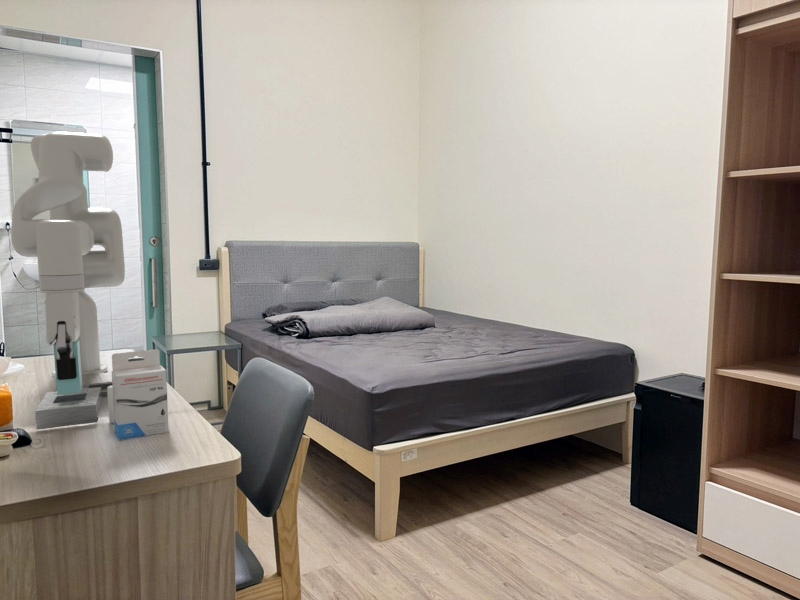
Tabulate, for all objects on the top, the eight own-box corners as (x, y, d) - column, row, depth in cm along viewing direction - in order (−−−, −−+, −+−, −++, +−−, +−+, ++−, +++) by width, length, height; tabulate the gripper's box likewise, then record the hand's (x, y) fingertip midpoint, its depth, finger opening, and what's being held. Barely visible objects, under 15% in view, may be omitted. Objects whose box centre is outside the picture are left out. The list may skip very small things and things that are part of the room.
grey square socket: (83, 393, 132) (82, 384, 132) (126, 388, 136) (126, 380, 136) (78, 403, 124) (78, 394, 124) (125, 398, 128) (125, 389, 128)
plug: (59, 390, 117) (56, 339, 116) (82, 388, 118) (79, 338, 117) (57, 395, 113) (53, 343, 112) (80, 392, 115) (76, 341, 114)
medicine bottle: (164, 418, 114) (161, 358, 113) (131, 429, 108) (128, 365, 107) (141, 412, 118) (138, 354, 116) (108, 422, 112) (104, 361, 110)
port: (48, 408, 121) (46, 391, 120) (102, 402, 125) (100, 386, 124) (36, 429, 108) (35, 410, 108) (97, 422, 112) (95, 403, 112)
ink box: (118, 441, 102) (113, 358, 100) (114, 433, 106) (109, 353, 104) (170, 432, 106) (165, 352, 105) (164, 424, 110) (160, 348, 109)
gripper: (46, 281, 119) (53, 369, 122) (32, 288, 104) (39, 388, 106) (87, 280, 122) (93, 365, 125) (79, 286, 107) (86, 384, 109)
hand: (68, 375), depth 115 cm, fingers closed on plug, 4 cm apart
